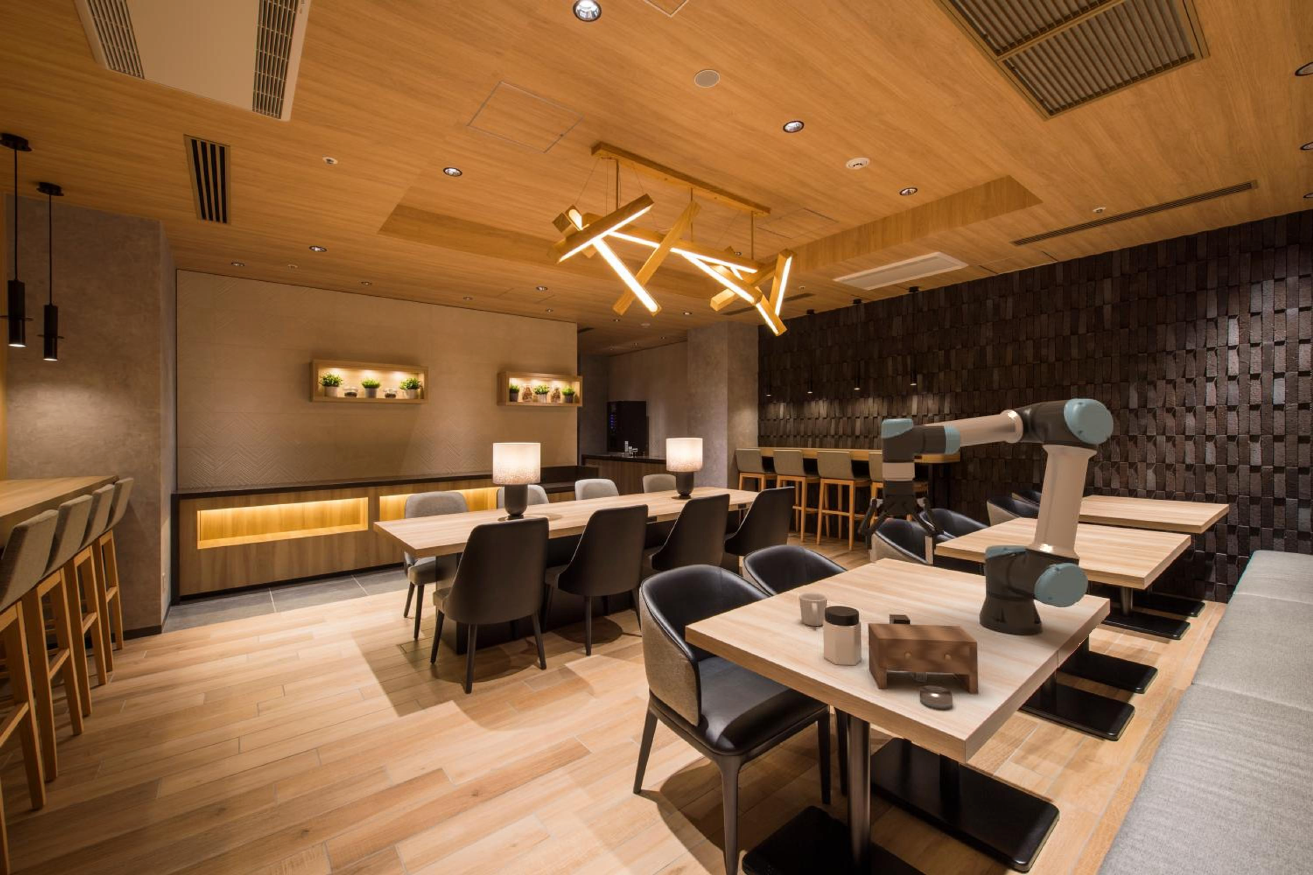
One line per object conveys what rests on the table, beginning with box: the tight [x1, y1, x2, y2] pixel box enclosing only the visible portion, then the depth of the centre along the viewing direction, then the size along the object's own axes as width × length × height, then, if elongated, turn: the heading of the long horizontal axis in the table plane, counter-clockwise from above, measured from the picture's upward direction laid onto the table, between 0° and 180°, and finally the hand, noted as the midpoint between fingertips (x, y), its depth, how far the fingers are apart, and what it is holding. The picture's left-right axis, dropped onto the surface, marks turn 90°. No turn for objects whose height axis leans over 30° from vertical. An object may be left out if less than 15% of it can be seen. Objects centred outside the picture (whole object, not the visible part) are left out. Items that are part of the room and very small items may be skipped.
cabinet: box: [867, 622, 979, 695], centre depth 124 cm, size 20×11×11 cm, turn 81°
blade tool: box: [888, 613, 928, 682], centre depth 133 cm, size 4×19×9 cm, turn 171°
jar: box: [822, 605, 863, 666], centre depth 137 cm, size 9×8×12 cm
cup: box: [798, 592, 828, 627], centre depth 163 cm, size 11×8×8 cm
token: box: [919, 685, 954, 711], centre depth 114 cm, size 6×6×2 cm
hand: (901, 562), depth 141 cm, fingers open, 13 cm apart
